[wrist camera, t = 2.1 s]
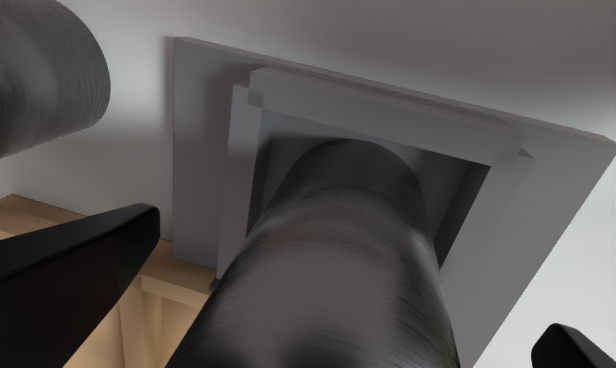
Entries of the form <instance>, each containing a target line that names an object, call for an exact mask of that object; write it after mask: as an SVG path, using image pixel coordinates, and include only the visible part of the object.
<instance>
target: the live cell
mask: <svg viewBox="0 0 616 368" xmlns="http://www.w3.org/2000/svg"><path fill="white" fill-rule="evenodd" d="M164 368H461V366H460V361H459V357H458V352H457V348H456V343H455V339H454V334H453V330H452V325H451V321H450V316H449V312H448V307H447V303H446V298H445V294H444V289H443V285H442V280H441V276H440V271H439V267H438V262H437V258H436V253H435V249H434V244H433V240H432V235H431V231H430V226H429V222H428V217H427V213H426V208H425V204H424V199H423V195H422V191H421V188H420V184H419V182H418V180H417V178H416V176H415V174H414V173H413V171H412V170H411V168H410V167H409V166H408V165H407V164H406V162H405V161H404V160H403V159H401V158H400V157H399V156H398V155H397V154H395V153H394V152H392V151H390V150H389V149H387V148H385V147H383V146H381V145H379V144H376V143H372V142H369V141H364V140H359V139H338V140H333V141H329V142H326V143H323V144H320V145H318V146H316V147H314V148H312V149H310V150H309V151H307V152H306V153H304V154H303V155H302V156H301V157H300V158H299V159H298V160H297V161H296V162H295V163H294V164H293V165H292V167H291V169H290V170H289V172H288V173H287V175H286V176H285V178H284V180H283V181H282V183H281V184H280V186H279V187H278V189H277V191H276V192H275V194H274V195H273V197H272V199H271V200H270V202H269V203H268V205H267V206H266V208H265V210H264V211H263V213H262V214H261V216H260V217H259V219H258V221H257V222H256V224H255V225H254V227H253V228H252V230H251V232H250V233H249V235H248V236H247V238H246V239H245V241H244V243H243V244H242V246H241V247H240V249H239V250H238V252H237V254H236V255H235V257H234V258H233V260H232V262H231V263H230V265H229V266H228V268H227V269H226V271H225V273H224V274H223V276H222V277H221V279H220V280H219V282H218V284H217V285H216V287H215V288H214V290H213V291H212V293H211V295H210V296H209V298H208V299H207V301H206V302H205V304H204V306H203V307H202V309H201V310H200V312H199V314H198V315H197V317H196V318H195V320H194V321H193V323H192V325H191V326H190V328H189V329H188V331H187V332H186V334H185V336H184V337H183V339H182V340H181V342H180V343H179V345H178V347H177V348H176V350H175V351H174V353H173V354H172V356H171V358H170V359H169V361H168V362H167V364H166V365H165V367H164Z"/></svg>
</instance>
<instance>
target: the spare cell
mask: <svg viewBox="0 0 616 368" xmlns="http://www.w3.org/2000/svg"><path fill="white" fill-rule="evenodd" d="M109 99H110V76H109V71H108V67H107V63H106V61H105V58H104V55H103V53H102V51H101V48H100V46H99V44H98V43H97V41H96V39H95V38H94V36H93V35H92V33H91V32H90V30H89V29H88V28H87V27H86V25H85V24H84V23H83V22H82V21H81V20H80V19H79V18H78V17H77V16H76V15H75V14H74V13H73V12H72V11H70V10H69V9H68V8H67V7H65V6H64V5H62V4H60V3H59V2H57V1H55V0H0V159H1V158H4V157H7V156H9V155H12V154H15V153H18V152H21V151H23V150H26V149H29V148H32V147H35V146H37V145H40V144H43V143H46V142H49V141H51V140H54V139H57V138H60V137H63V136H65V135H68V134H71V133H74V132H77V131H79V130H82V129H85V128H88V127H90V126H92V125H94V124H95V123H96V122H98V121H99V119H100V118H101V117H102V116H103V114H104V113H105V111H106V109H107V106H108V103H109Z"/></svg>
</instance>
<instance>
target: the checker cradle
mask: <svg viewBox="0 0 616 368" xmlns="http://www.w3.org/2000/svg"><path fill="white" fill-rule="evenodd" d="M338 139H359V140H364V141H369V142H372V143H376V144H379V145H381V146H383V147H385V148H387V149H389V150H390V151H392V152H394V153H395V154H397V155H398V156H399V157H400V158H401V159H403V160H404V161H405V162H406V164H407V165H408V166H409V167H410V168H411V170H412V171H413V173H414V174H415V176H416V178H417V180H418V182H419V184H420V188H421V191H422V195H423V199H424V204H425V208H426V213H427V217H428V222H429V226H430V231H431V235H432V240H433V244H434V249H435V253H436V258H437V262H438V267H439V271H440V276H441V280H442V285H443V289H444V294H445V298H446V303H447V307H448V312H449V316H450V321H451V325H452V330H453V334H454V339H455V343H456V348H457V352H458V357H459V361H460V366H461V368H473V366H474V365H475V363H476V362H477V360H478V359H479V357H480V356H481V354H482V353H483V351H484V350H485V348H486V347H487V345H488V344H489V342H490V341H491V339H492V338H493V336H494V335H495V333H496V332H497V330H498V329H499V327H500V326H501V325H502V323H503V322H504V320H505V319H506V317H507V316H508V314H509V313H510V311H511V310H512V308H513V307H514V305H515V304H516V302H517V301H518V299H519V298H520V296H521V295H522V293H523V292H524V290H525V289H526V287H527V286H528V284H529V283H530V281H531V280H532V279H533V277H534V276H535V274H536V273H537V271H538V270H539V268H540V267H541V265H542V264H543V262H544V261H545V259H546V258H547V256H548V255H549V253H550V252H551V250H552V249H553V247H554V246H555V244H556V243H557V241H558V240H559V238H560V237H561V235H562V234H563V233H564V231H565V230H566V228H567V227H568V225H569V224H570V222H571V221H572V219H573V218H574V216H575V215H576V213H577V212H578V210H579V209H580V207H581V206H582V204H583V203H584V201H585V200H586V198H587V197H588V195H589V194H590V192H591V191H592V190H593V188H594V187H595V185H596V184H597V182H598V181H599V179H600V178H601V176H602V175H603V173H604V172H605V170H606V169H607V167H608V166H609V164H610V163H611V161H612V160H613V158H614V157H615V155H616V142H614V141H613V140H611V139H609V138H607V137H605V136H602V135H598V134H594V133H589V132H585V131H581V130H577V129H573V128H568V127H564V126H560V125H556V124H552V123H547V122H543V121H539V120H535V119H531V118H526V117H522V116H518V115H514V114H509V113H505V112H501V111H497V110H493V109H488V108H484V107H480V106H476V105H472V104H467V103H463V102H459V101H455V100H450V99H446V98H442V97H438V96H434V95H429V94H425V93H421V92H417V91H413V90H408V89H404V88H400V87H396V86H391V85H387V84H383V83H379V82H375V81H370V80H366V79H362V78H358V77H354V76H349V75H345V74H341V73H337V72H332V71H328V70H324V69H320V68H316V67H311V66H307V65H303V64H299V63H295V62H290V61H286V60H282V59H278V58H274V57H269V56H265V55H261V54H257V53H252V52H248V51H244V50H240V49H236V48H231V47H227V46H223V45H219V44H215V43H210V42H206V41H202V40H198V39H193V38H189V37H187V38H175V39H174V116H173V245H172V258H176V259H179V260H182V261H186V262H189V263H192V264H196V265H199V266H202V267H206V268H209V269H212V270H215V271H217V275H216V276H215V278H214V279H213V281H212V282H211V284H210V285H209V291H213V290H214V288H215V287H216V285H217V284H218V282H219V280H220V279H221V277H222V276H223V274H224V273H225V271H226V269H227V268H228V266H229V265H230V263H231V262H232V260H233V258H234V257H235V255H236V254H237V252H238V250H239V249H240V247H241V246H242V244H243V243H244V241H245V239H246V238H247V236H248V235H249V233H250V232H251V230H252V228H253V227H254V225H255V224H256V222H257V221H258V219H259V217H260V216H261V214H262V213H263V211H264V210H265V208H266V206H267V205H268V203H269V202H270V200H271V199H272V197H273V195H274V194H275V192H276V191H277V189H278V187H279V186H280V184H281V183H282V181H283V180H284V178H285V176H286V175H287V173H288V172H289V170H290V169H291V167H292V165H293V164H294V163H295V162H296V161H297V160H298V159H299V158H300V157H301V156H302V155H303V154H304V153H306V152H307V151H309V150H310V149H312V148H314V147H316V146H318V145H320V144H323V143H326V142H329V141H333V140H338Z"/></svg>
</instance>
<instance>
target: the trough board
mask: <svg viewBox="0 0 616 368" xmlns="http://www.w3.org/2000/svg"><path fill="white" fill-rule="evenodd" d="M85 217H86V216H83V215H79V214H76V213H73V212H69V211H66V210H63V209H59V208H56V207H53V206H49V205H46V204H43V203H39V202H36V201H33V200H29V199H26V198H22V197H19V196H16V195H12V194H11V195H9V196H6V197H4V198H2V199H0V240H1V239H5V238H9V237H12V236H16V235H20V234H24V233H28V232H32V231H35V230H39V229H43V228H47V227H51V226H54V225H58V224H62V223H66V222H70V221H73V220H77V219H81V218H85ZM172 245H173V242H170V241H167V240H163V239H160V238H159V242H158V244H157V246H156V247H155V249H154V250H153V252H152V253H151V255H150V256H149V258H148V259H147V260H146V262H145V263H144V265H143V266H142V268H141V269H140V271H139V272H138V274H137V275H136V277H135V278H134V280H133V281H132V283H131V284H130V286H129V287H128V289H127V290H126V291H125V293H124V294H123V296H122V297H121V298H120V300H119V301H118V302H117V303H116V305H115V306H114V307H113V308H112V309H111V311H110V312H109V313H108V314H107V315H106V317H105V318H104V319H103V320H102V321H101V323H100V324H99V325H98V326H97V327H96V329H95V330H94V331H93V332H92V333H91V334H90V336H89V337H88V338H87V339H86V340H85V342H84V343H83V344H82V345H81V346H80V348H79V349H78V350H77V351H76V352H75V354H74V355H73V356H72V357H71V358H70V360H69V361H68V362H67V363H66V364H65V366H64V367H63V368H164V367H165V365H166V364H167V362H168V361H169V359H170V358H171V356H172V354H173V353H174V351H175V350H176V348H177V347H178V345H179V343H180V342H181V340H182V339H183V337H184V336H185V334H186V332H187V331H188V329H189V328H190V326H191V325H192V323H193V321H194V320H195V318H196V317H197V315H198V314H199V312H200V310H201V309H202V307H203V306H204V304H205V302H206V301H207V299H208V298H209V296H210V295H211V293H212V291H209V285H210V284H211V282H212V281H213V279H214V278H215V276H216V275H217V271H215V270H212V269H209V268H206V267H202V266H199V265H196V264H192V263H189V262H186V261H182V260H179V259H176V258H172Z"/></svg>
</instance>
